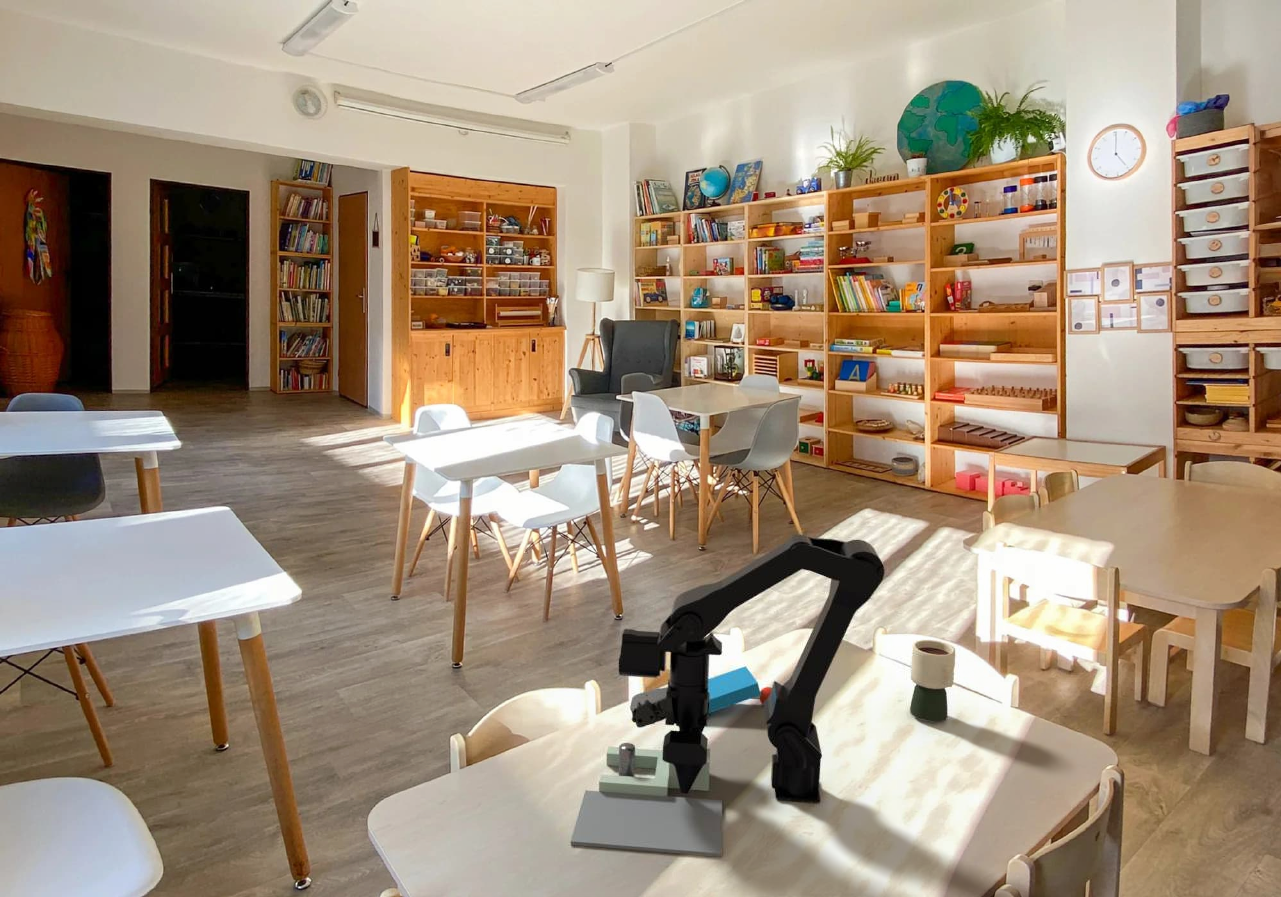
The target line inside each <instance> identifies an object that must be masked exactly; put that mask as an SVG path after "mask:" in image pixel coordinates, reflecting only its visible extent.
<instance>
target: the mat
mask: <svg viewBox="0 0 1281 897" xmlns="http://www.w3.org/2000/svg"><path fill="white" fill-rule="evenodd" d="M722 839H723V800H721V799H710V798H709V799H708V798H707V799H706V798H695V797H694V798H693V797H681V796H679V797H678V796H668V795H667V796H656V795H642V794H629V793H616V792H602V791H599V790H588V789H587V790H584V794H583V798H582V801H581V804H580V808H579V811H578V816H577V819H576V821H575V825H574V829H573V833H572V836H571V839H570V845H571V846H585V847H593V848H594V847H596V848H597V847H598V848H607V849H610V848H611V849H620V850H631V851H645V852H646V851H647V852H658V853H670V854H682V855H693V856H694V855H695V856H705V857H706V856H707V857H718V858H721V857H722V854H723V853H722V851H723V848H722V846H723V843H722V841H723V840H722Z"/></svg>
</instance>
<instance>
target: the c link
mask: <svg viewBox="0 0 1281 897" xmlns="http://www.w3.org/2000/svg"><path fill="white" fill-rule="evenodd" d="M662 759H663V749H662V750H660V749H649V748H648V749H647V748H635V768H643V769H655V774H654V778H652V777H642V776H641V777H640V776H634V777H629V776H619V775H615V774H600V776H599V782H598V791H602V792H616V793H629V794H642V795H656V796H668V793H669V789H678V790H680V787H679V782H678V778H677V774H676V770H675V766H674V765H673V764H672V763H667V762H665V761H663V760H662ZM710 763H711V748H707V763H706V764H705V765H703V767H702V769H701V770H700V772H699V774H698V776H697V777H696V779H695V781H694V783H693V785H692V787H691V789H690V791H691V790H693V791H706V792H707V791H708V792H709V790H710V788H709V787H710V765H711V764H710ZM606 766H614V767H615V766H616V767H619V746H618V747H615V746H608V748H607V751H606Z"/></svg>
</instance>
